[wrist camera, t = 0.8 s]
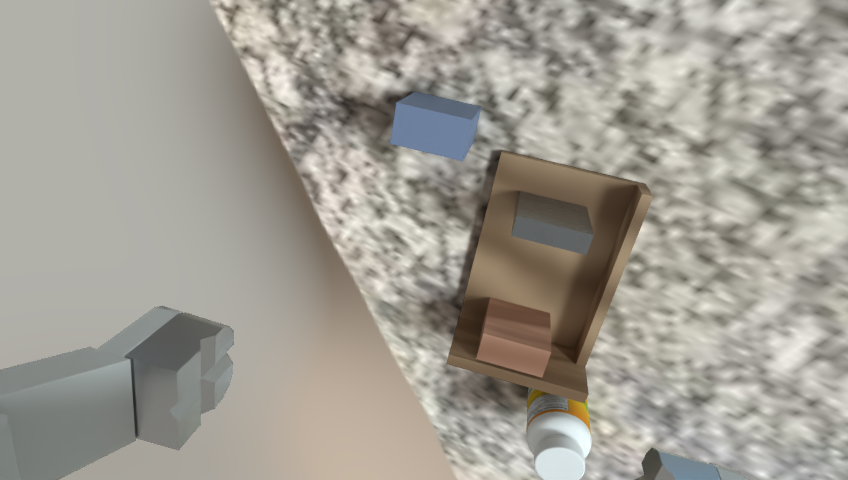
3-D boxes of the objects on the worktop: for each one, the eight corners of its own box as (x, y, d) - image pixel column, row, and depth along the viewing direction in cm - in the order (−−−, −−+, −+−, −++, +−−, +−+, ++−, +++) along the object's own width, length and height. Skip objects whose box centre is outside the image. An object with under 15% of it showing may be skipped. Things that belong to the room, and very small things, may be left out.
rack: (501, 150, 42) (495, 172, 36) (645, 183, 41) (663, 212, 35) (458, 321, 50) (446, 363, 43) (579, 354, 48) (584, 403, 42)
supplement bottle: (589, 409, 50) (599, 491, 42) (533, 412, 52) (531, 492, 43) (581, 363, 49) (590, 439, 40) (523, 368, 50) (519, 442, 41)
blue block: (415, 91, 42) (396, 102, 37) (481, 106, 41) (471, 119, 36) (409, 127, 43) (389, 143, 38) (472, 142, 43) (462, 161, 37)
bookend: (520, 190, 42) (516, 216, 37) (587, 207, 42) (593, 235, 36) (515, 208, 43) (511, 236, 38) (580, 225, 42) (586, 255, 37)
